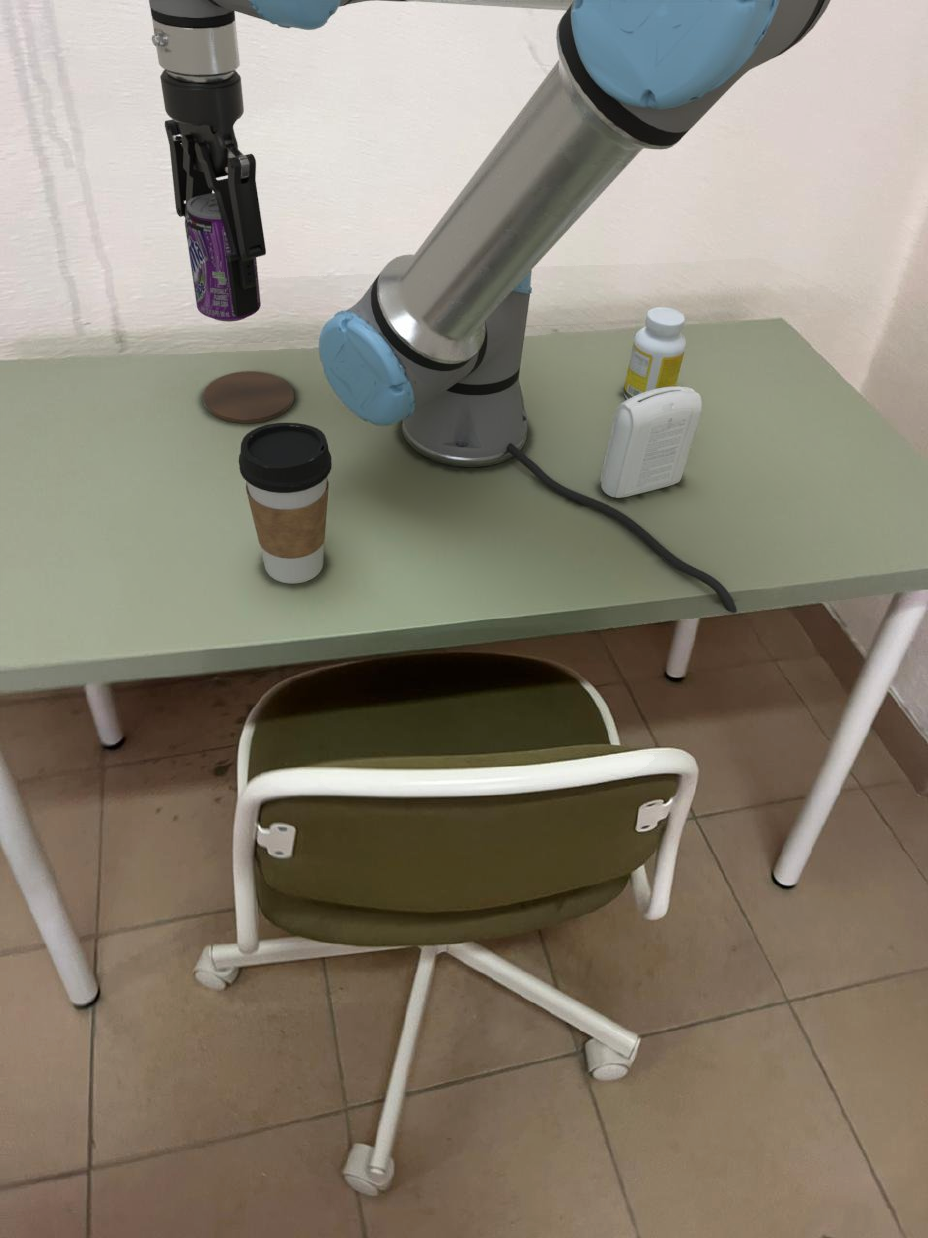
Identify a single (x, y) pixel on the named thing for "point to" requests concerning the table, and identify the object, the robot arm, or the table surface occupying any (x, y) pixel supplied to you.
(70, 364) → the table surface
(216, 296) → the beverage can
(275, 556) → the coffee cup
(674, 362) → the pill bottle
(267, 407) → the coaster
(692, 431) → the photo printer
